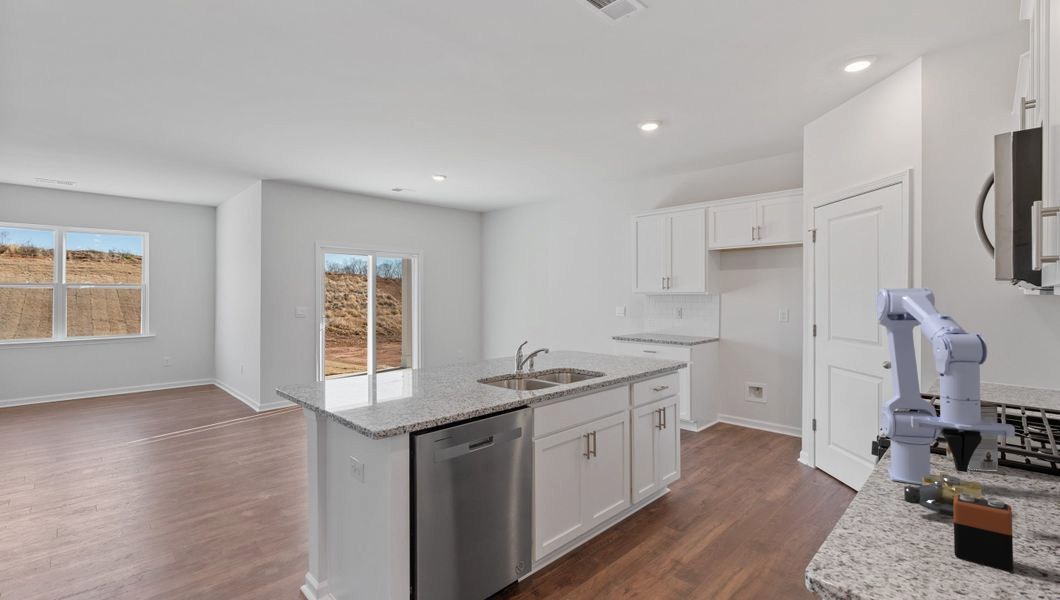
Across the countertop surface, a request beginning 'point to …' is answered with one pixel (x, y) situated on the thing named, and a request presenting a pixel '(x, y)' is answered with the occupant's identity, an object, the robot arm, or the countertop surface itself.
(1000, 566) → the battery
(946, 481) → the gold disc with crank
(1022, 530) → the countertop surface
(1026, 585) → the countertop surface
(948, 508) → the mounting plate
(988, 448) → the coffee box
